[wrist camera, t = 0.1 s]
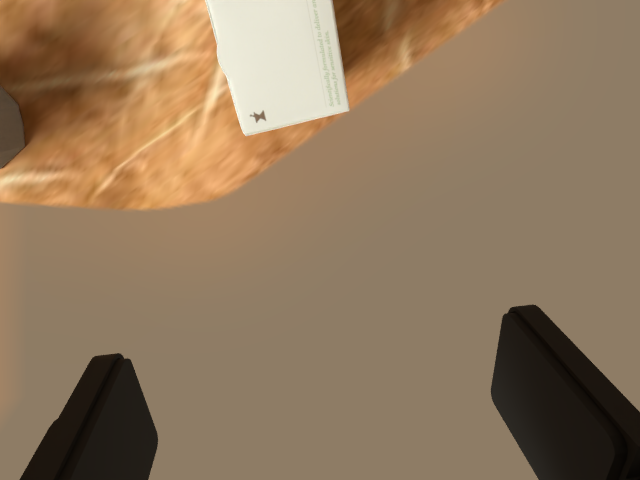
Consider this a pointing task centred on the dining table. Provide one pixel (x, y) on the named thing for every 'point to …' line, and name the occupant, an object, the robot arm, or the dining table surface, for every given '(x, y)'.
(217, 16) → the skincare box
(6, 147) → the coffeepot
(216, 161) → the dining table surface
